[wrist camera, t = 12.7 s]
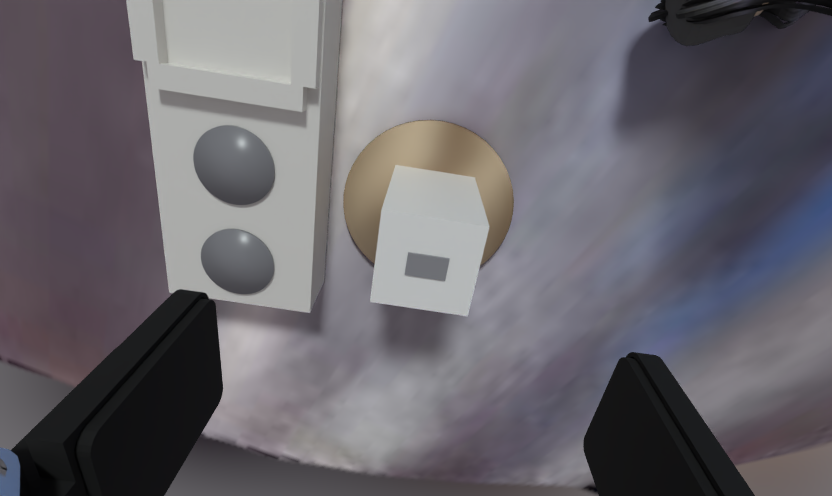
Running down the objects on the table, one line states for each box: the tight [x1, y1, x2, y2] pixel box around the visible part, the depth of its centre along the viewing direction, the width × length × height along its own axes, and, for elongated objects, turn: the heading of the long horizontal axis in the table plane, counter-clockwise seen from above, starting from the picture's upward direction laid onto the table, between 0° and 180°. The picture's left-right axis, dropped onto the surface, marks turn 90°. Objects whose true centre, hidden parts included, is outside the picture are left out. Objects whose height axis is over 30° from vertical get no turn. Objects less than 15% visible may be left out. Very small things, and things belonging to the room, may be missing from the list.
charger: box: [370, 165, 490, 316], centre depth 24 cm, size 5×5×8 cm
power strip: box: [126, 0, 343, 313], centre depth 22 cm, size 34×9×5 cm, turn 172°
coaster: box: [344, 120, 514, 266], centre depth 28 cm, size 11×11×1 cm
